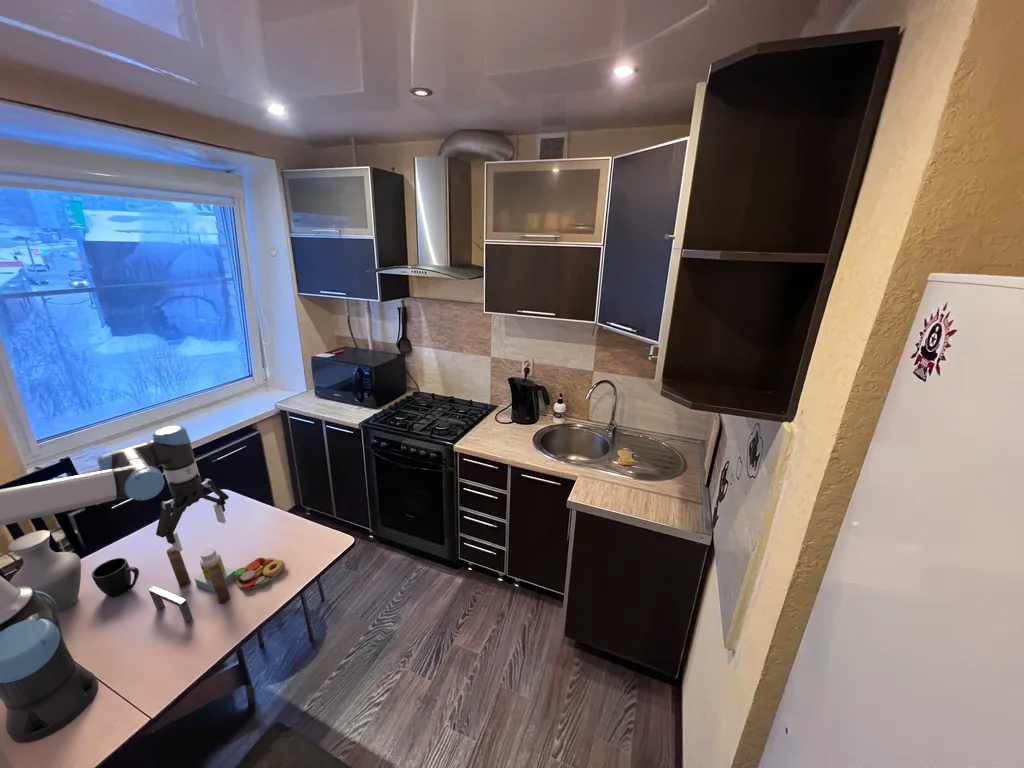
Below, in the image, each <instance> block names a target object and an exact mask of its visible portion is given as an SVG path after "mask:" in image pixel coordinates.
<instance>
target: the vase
mask: <svg viewBox="0 0 1024 768" xmlns="http://www.w3.org/2000/svg"><path fill="white" fill-rule="evenodd" d="M50 534H51V531H50V530H45V529H42V530H37V531H33V532H29V533H27V534H25V535H22V536H19V537H18V538H16V539H15V540H13V542H11V543H10V544H8V549H7V550H8V551H10V552H12V553H14V554H16V556H19V557H20V558H21V559H22V561H23V564H22V567H21V568H20V569H19V570H17V571H16V573H15V574H14V575H13V576H12V577H11V579H10V582H9V583H10V584H12V585H13V586H14V587H15V588H17V587H23V586H26V587H30V588H31V589H32V590H34V591H41V592H44V593H46V594H48V595H49V596H50V597H51V598H52V599H53V600H54V602H55V603H56V606H57V614H58V613H61V612H64V611H65V610H67V609H69V608H71V607H73V606H74V605H75V603H76V602H77V601H78V600H79V599H78V598H79V594H80V588H81V579H82V561H81V558H80V556H79V555H78V554H76V553H74V552H70V551H59V552H56V551H54V550H52V549H51V547H50Z"/></svg>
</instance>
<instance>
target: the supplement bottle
mask: <svg viewBox="0 0 1024 768" xmlns="http://www.w3.org/2000/svg"><path fill="white" fill-rule="evenodd" d="M199 555H200V561H199V565H200V567H201V569H202V573H204V576H205V579H206V580H207V581H212V580H211V577H210V574H209V571H208V568H207V566H208V565H209V564H210V563H212V562H215V561H218V562H219V564H220V567H221V570H222V573H223V575H224V573H225V569H224V567H225V565H224V563H223V560H222V556H221V554H220V552H217V551H216V548H214V547H207V548H204V549H203V550H202V551H201V552H200V554H199Z"/></svg>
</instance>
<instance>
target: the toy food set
mask: <svg viewBox="0 0 1024 768" xmlns="http://www.w3.org/2000/svg"><path fill="white" fill-rule="evenodd" d="M285 566H286V564H285V561H284V560H283V559H276V558H271V557H268V558H265V557H257V558H256V559H254V560H252V561H251V562H249V563H248V564H247V565H245V566H244V567H239V568H238V569H237V568H236V570H235V572H234V576H236V584H237V586H238V587H239V588H241V589H245V590H249V589H250V590H251V589H257V588H261V587H263V586H265V585H267V584H268V583H270V582H272V581H273V580H274V579H275V578H276V577H277V576H278V575H279V574H280V573H281V572H282V571H283V570H284V568H285Z"/></svg>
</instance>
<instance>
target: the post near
mask: <svg viewBox="0 0 1024 768" xmlns="http://www.w3.org/2000/svg"><path fill="white" fill-rule="evenodd" d="M207 568H208V571H209V574H210V577H211V580H212V583H213V586H214V589H215V592H214V593H215V596H216V598H217V600H218V603H219V604H220V605H222V604H226V603H228V602H229V601H230V600H231V594H230V593H229V589H228V585H227V584H226V582H225V579H224V576H223V573H222V570H221V567H220V564H219V562H218V561H215V562H212V563H210V564H209V565H208V566H207Z"/></svg>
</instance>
